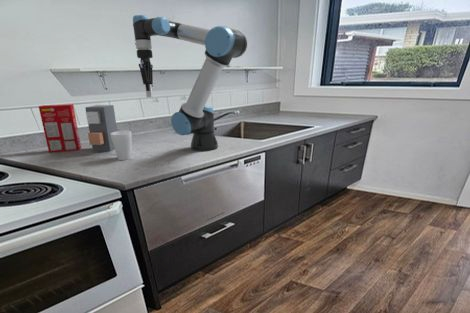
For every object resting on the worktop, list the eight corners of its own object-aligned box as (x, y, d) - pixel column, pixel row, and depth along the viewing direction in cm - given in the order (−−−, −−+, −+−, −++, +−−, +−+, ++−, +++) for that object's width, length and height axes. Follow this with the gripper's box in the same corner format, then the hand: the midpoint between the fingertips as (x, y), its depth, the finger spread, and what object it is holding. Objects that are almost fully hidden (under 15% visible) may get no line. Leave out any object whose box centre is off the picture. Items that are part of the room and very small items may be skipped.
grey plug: (98, 123, 138) (96, 111, 136) (87, 123, 139) (85, 112, 137) (111, 119, 150) (110, 108, 149) (101, 119, 151) (99, 109, 149)
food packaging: (81, 147, 155) (73, 104, 147) (79, 150, 150) (70, 105, 143) (52, 150, 151) (42, 105, 144) (49, 152, 146) (38, 106, 139)
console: (110, 151, 146) (103, 107, 139) (93, 151, 147) (85, 107, 140) (119, 146, 155) (113, 105, 148) (103, 146, 156) (96, 105, 149)
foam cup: (118, 155, 138) (114, 131, 134) (136, 155, 138) (133, 130, 134) (111, 161, 128) (107, 135, 125) (131, 160, 129) (127, 134, 125)
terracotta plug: (100, 144, 140) (98, 133, 138) (89, 144, 141) (87, 133, 139) (113, 139, 152) (111, 128, 150) (103, 139, 153) (101, 128, 151)
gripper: (142, 51, 142) (147, 96, 149) (131, 48, 130) (137, 98, 136) (155, 50, 141) (160, 96, 148) (146, 48, 129) (151, 97, 136)
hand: (149, 97), depth 142 cm, fingers closed
